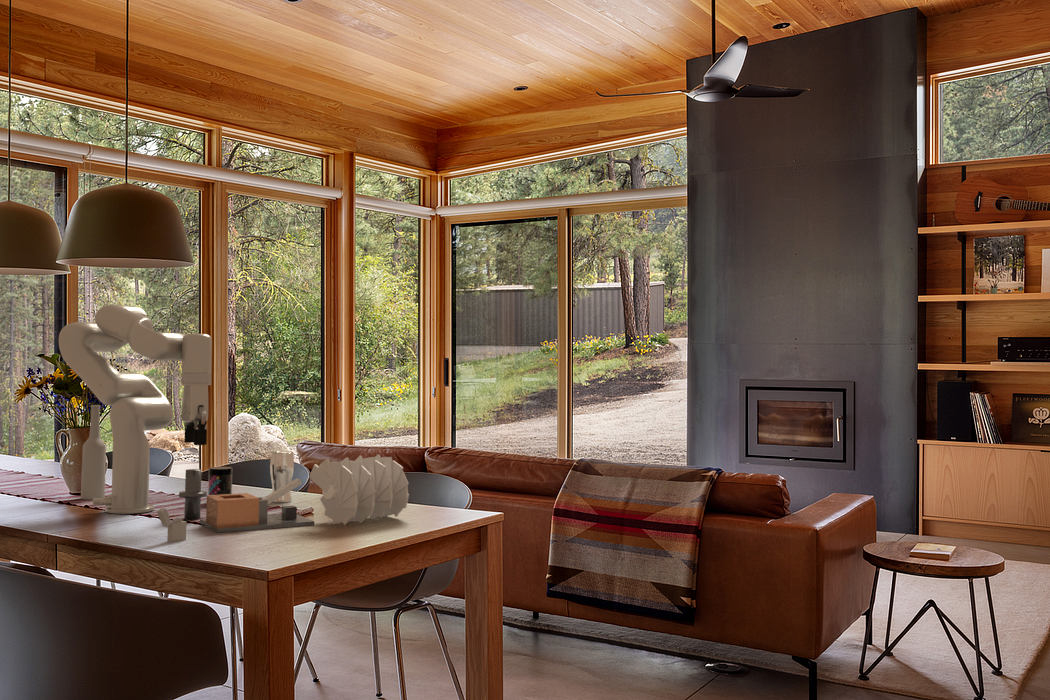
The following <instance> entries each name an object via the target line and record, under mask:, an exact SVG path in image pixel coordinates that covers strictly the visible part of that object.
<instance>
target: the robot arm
mask: <svg viewBox="0 0 1050 700" xmlns="http://www.w3.org/2000/svg"><path fill="white" fill-rule="evenodd" d="M94 321H95V322H92V321H76V322H70V323H68V324H66V325H64V327H62V328H61V330H60V332H59V334H58V348H59V352H60V355H61V357H62V358H63V360H64V362H65V363H66V364H67V365H68V366H67V367H69V368H70V369H71V370H72V371H73V372H74V373H75V374H76V375H77V376H78V377H79V378H80V379H81V380H82V382H83V383H84V384H85V385H86V386H87V388H88V389H89V390H90V391H91V392H92V394H93V395H94V396H95V397H96V398H97V399H98V401H99V402H100V403H102V404H103V405H105V406H109V407H110V410H109V421H110V422H109V423H110V426H111V434H112V466H111V467H112V468H111V469H112V470H111V493H109V494H108V496H105V498H94V499H92V506H105V508H104V512H105V513H107V514H114V515H115V514H116V515H121V514H122V515H124V514H126V515H128V514H129V515H132V514H143V513H149V512H153V511H154V510H155V505H154V504H151V503H149V497H150V496H149V495H150V493H149V489H150V462H151V461H150V457H151V455H150V454H151V453H150V450H151V448H150V443H149V439H148V438H147V435H146V433H145V431H156V430H162V429H165V428H167V427H168V426H169V425H170V424H172V422H173V418H174V411H173V407H172V404H171V403H170V401H169V399H168V398H167V397H166V396H165V395H164V394H163V393H162V391H161V390H160V389H159V388H158V386H157V385H156V384H154V381H152V380H151V379H150V378H149V377H148V376H146V375H144V374H142V373H137V372H120V371H118V370H117V369H116V368H114V366H113V365H112V364H111V363H110V362H109V361H108V360H107V359H106V358H105V357H103V356H101V355H100V354H99V353H97V352H100V353H108V352H109V353H110V352H115V351H118V350H120V349H121V348H123V347H125V346H126V345H129V347H130V349H131V350H132V352H134V353H136V354H138V355H140V356H142V357H144V358H147V359H149V360H153V361H166V362H167V361H171V362H172V361H173V362H181V386H183V390H182V400H181V401H182V402H181V415H180V416H181V417H180V419H181V421H182V422H185V423H184V443H185V444H188V443H189V444H190V443H192V444H193V446H206V445H207V443H208V442H207V440H208V439H207V436H208V435H207V433H208V425H207V422H208V420H209V419H208V418H209V386H212V355H213V352H212V351H213V348H212V347H213V346H212V345H213V340H212V336H210V335H209V334H207V333H177V332H161V331H160V332H159V331H156V330H154V324H153V322H152V321H151V319H149V317H148V315H147V313H146V311H144V309H142V308H141V307H139V306H134V305H126V304H124V305H123V304H106V305H103V306H101V307H100V308H98V310H97V311H96V313H95V316H94Z"/></svg>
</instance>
